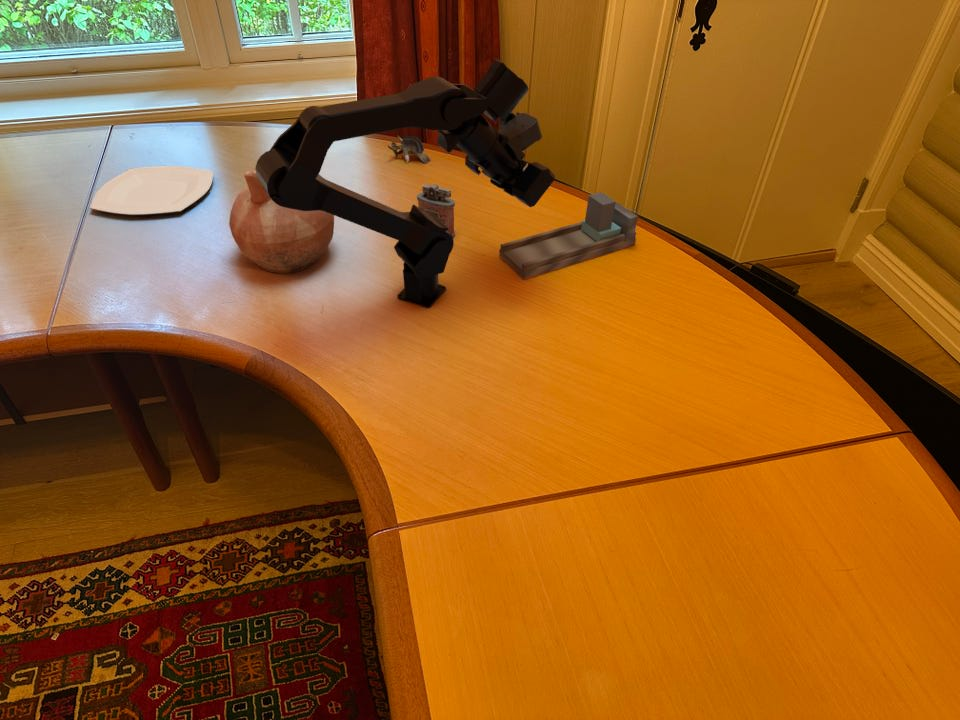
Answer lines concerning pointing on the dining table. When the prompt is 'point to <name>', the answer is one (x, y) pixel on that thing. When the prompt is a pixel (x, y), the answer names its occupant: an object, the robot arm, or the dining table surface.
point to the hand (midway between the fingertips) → (533, 196)
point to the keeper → (600, 217)
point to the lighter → (438, 204)
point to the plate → (153, 190)
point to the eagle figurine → (410, 148)
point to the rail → (566, 246)
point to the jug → (277, 230)
